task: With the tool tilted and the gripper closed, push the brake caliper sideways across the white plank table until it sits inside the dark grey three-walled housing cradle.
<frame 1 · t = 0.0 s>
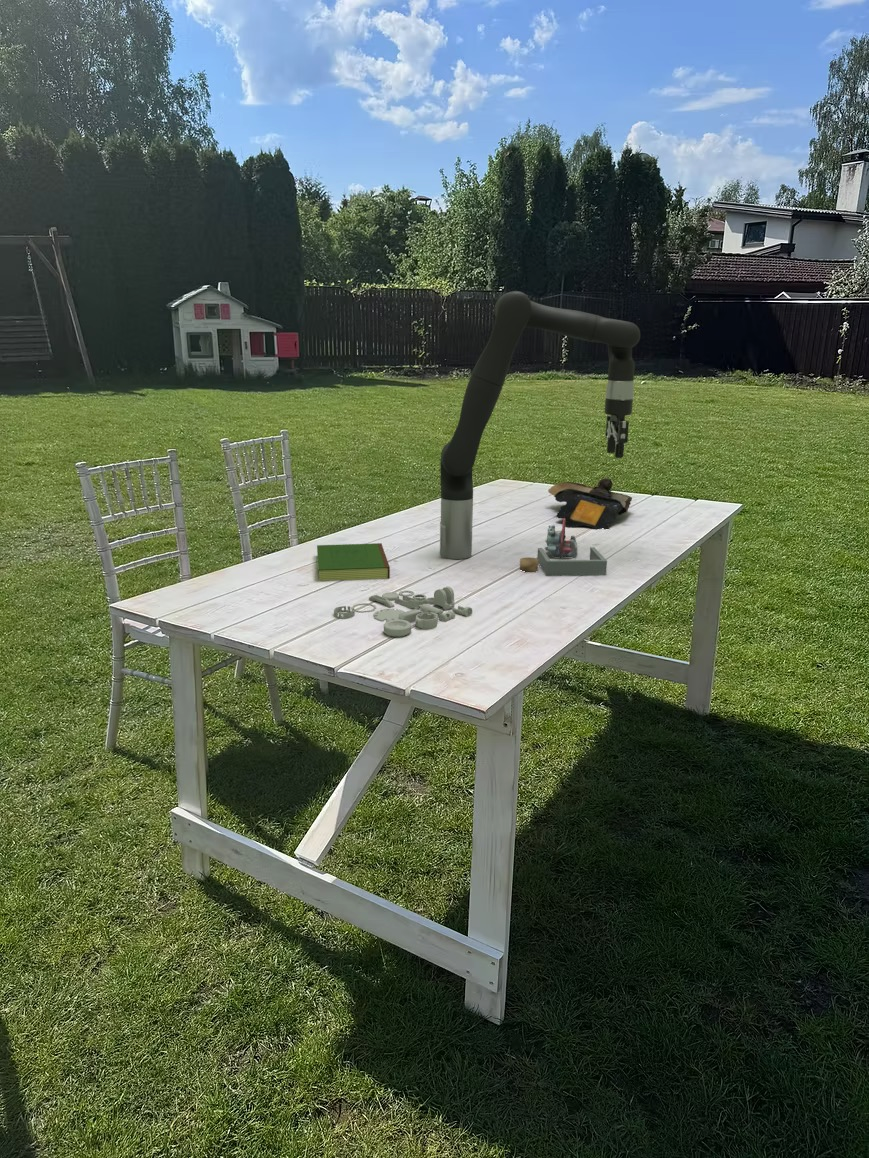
hand: (614, 455, 223), 29 cm above the table, tool pointing down, fingers open, 8 cm apart
tan rounded lump: (528, 570, 216), on the table
hardcover book: (351, 568, 219), on the table
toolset: (584, 517, 280), on the table
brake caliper: (560, 555, 231), on the table
housing cradle: (570, 567, 219), on the table
robot parts: (399, 616, 183), on the table
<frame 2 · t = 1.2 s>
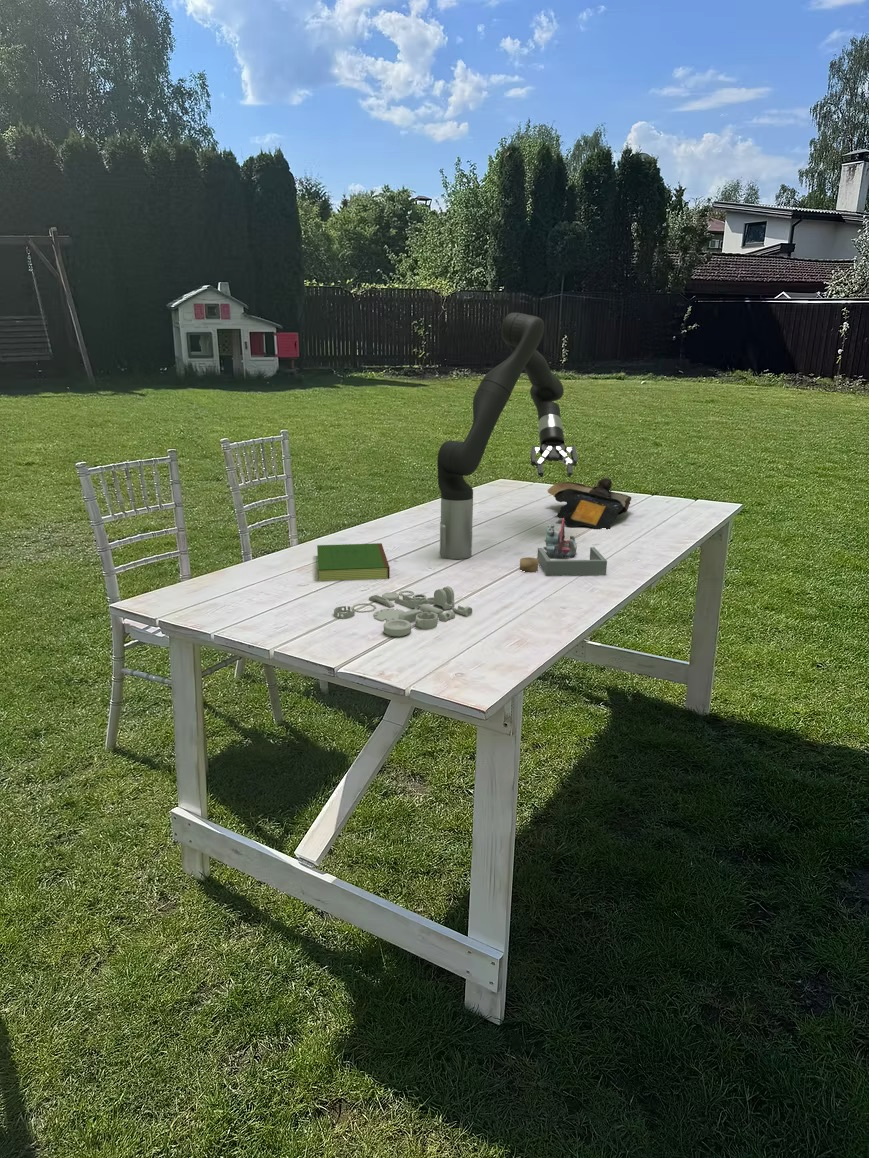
hand: (555, 475, 238), 21 cm above the table, tool tilted 45°, fingers open, 8 cm apart
nothing on the table moved.
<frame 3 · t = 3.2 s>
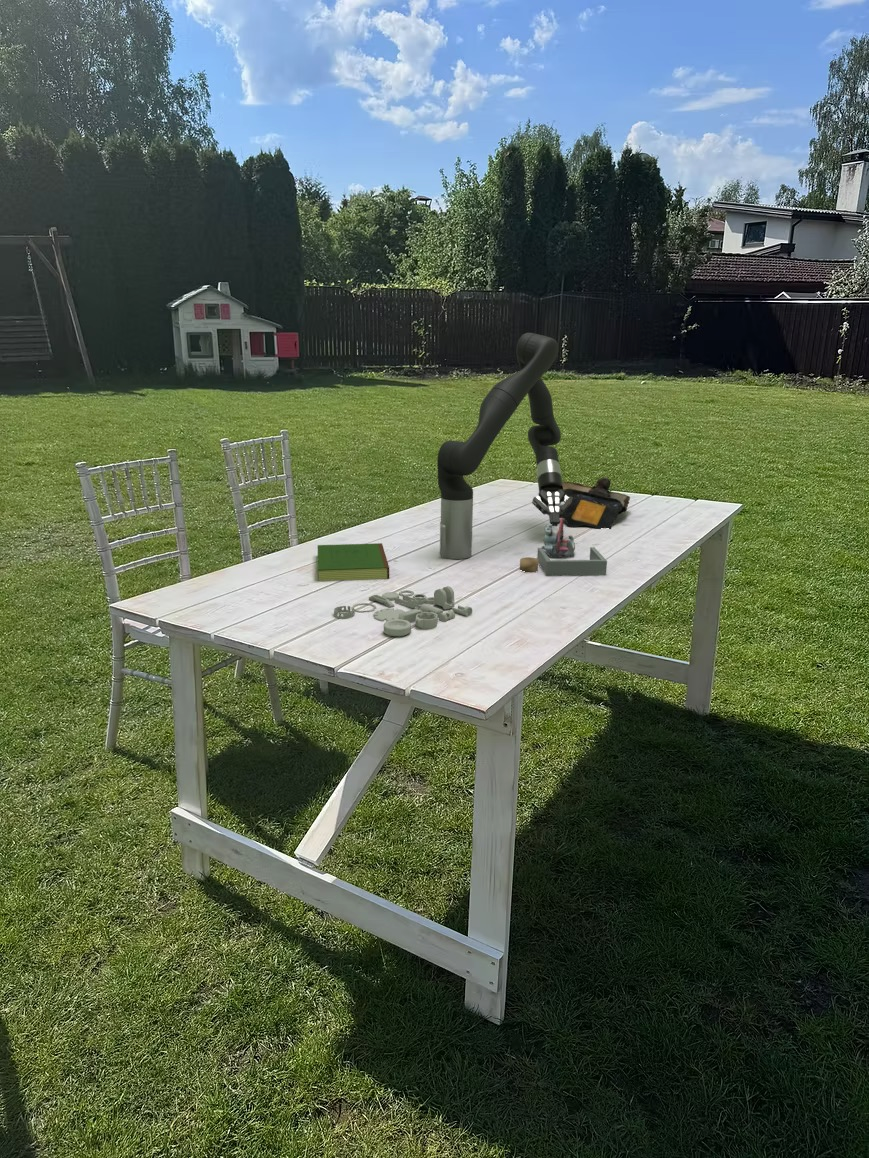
hand: (555, 524, 239), 6 cm above the table, tool tilted 45°, fingers closed
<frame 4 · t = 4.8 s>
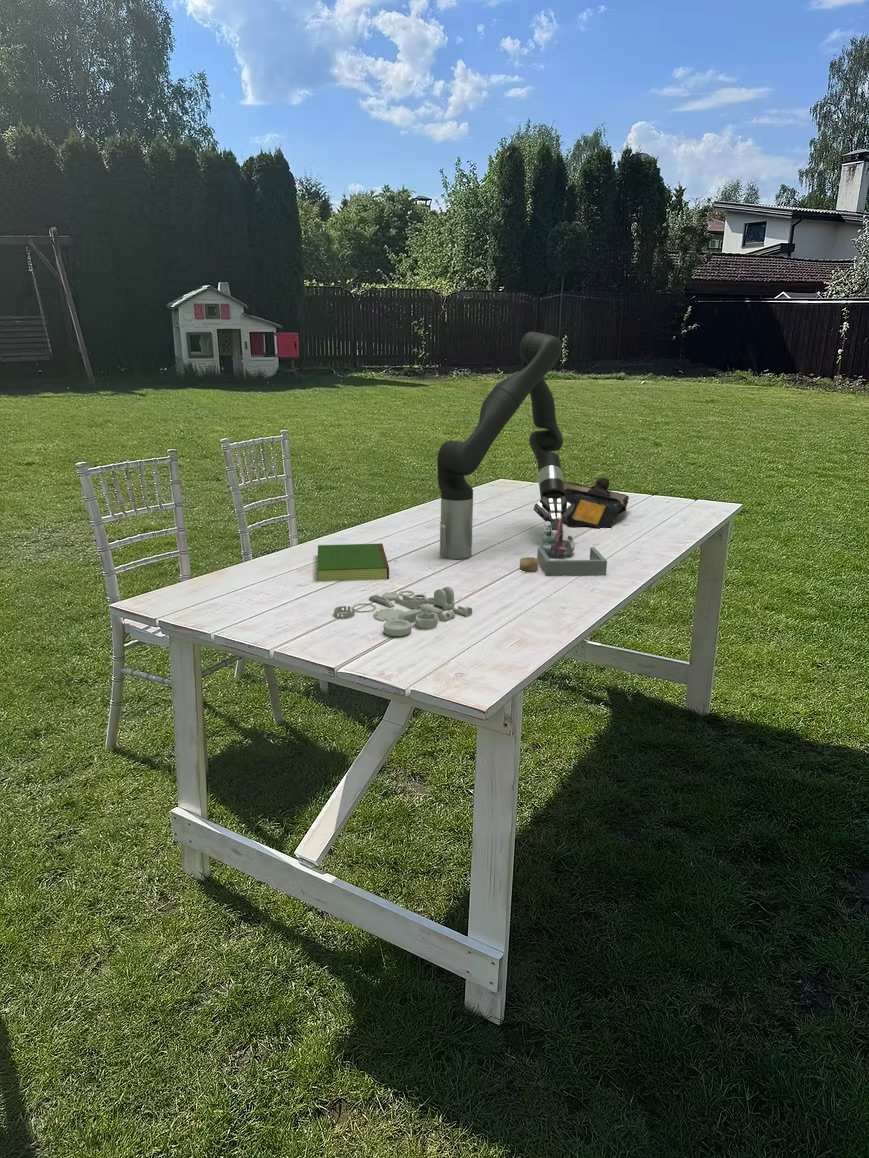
hand: (557, 531, 235), 5 cm above the table, tool tilted 45°, fingers closed
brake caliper: (556, 554, 232), on the table, touching gripper
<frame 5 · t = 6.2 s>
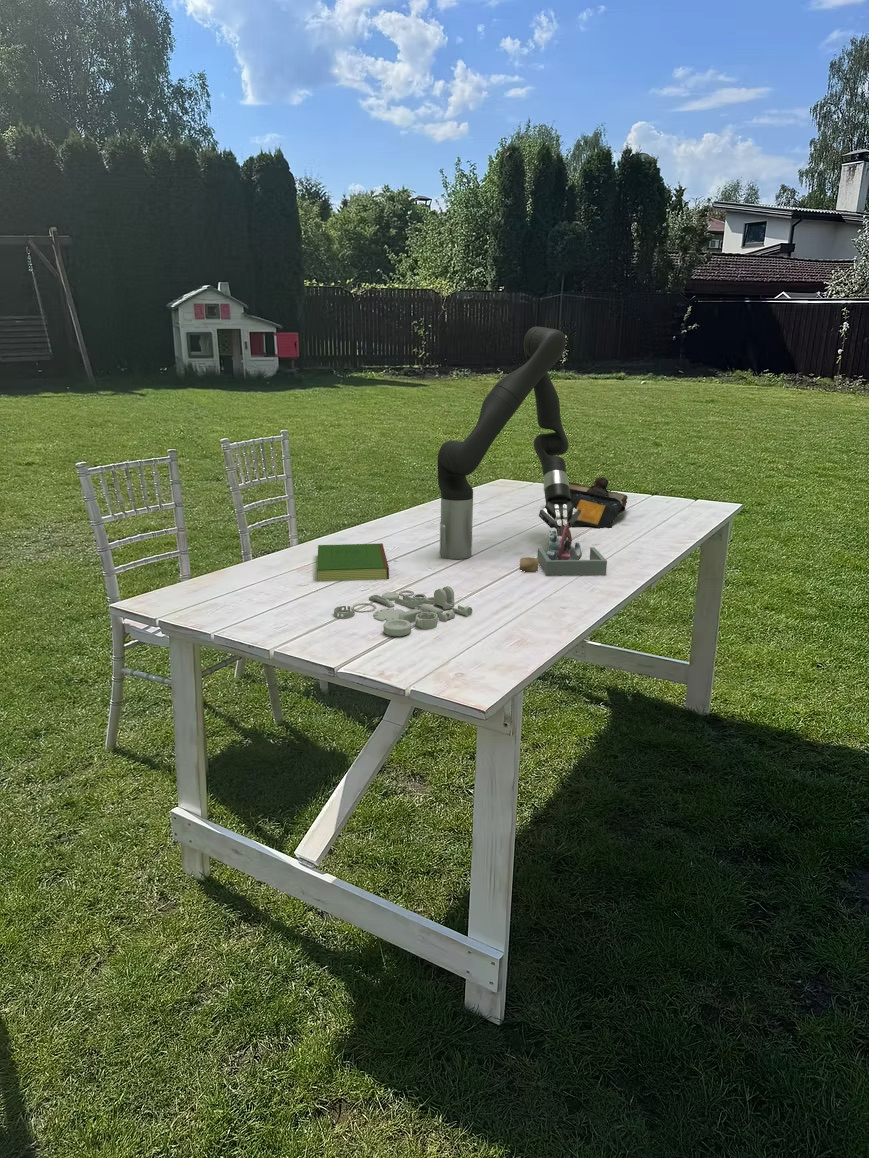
hand: (563, 539, 228), 5 cm above the table, tool tilted 45°, fingers closed
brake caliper: (562, 561, 225), on the table, touching gripper
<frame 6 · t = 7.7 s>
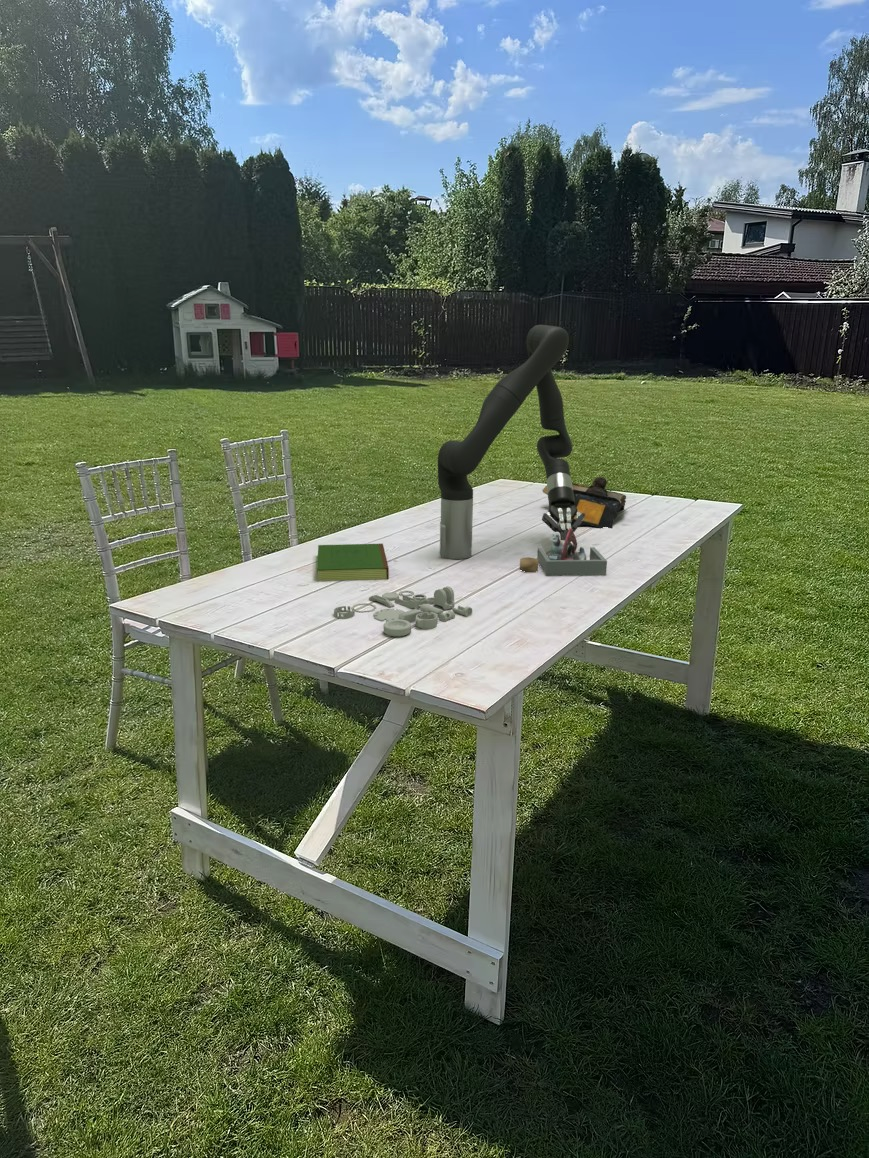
hand: (566, 543, 223), 5 cm above the table, tool tilted 45°, fingers closed
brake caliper: (566, 566, 220), on the table, touching gripper
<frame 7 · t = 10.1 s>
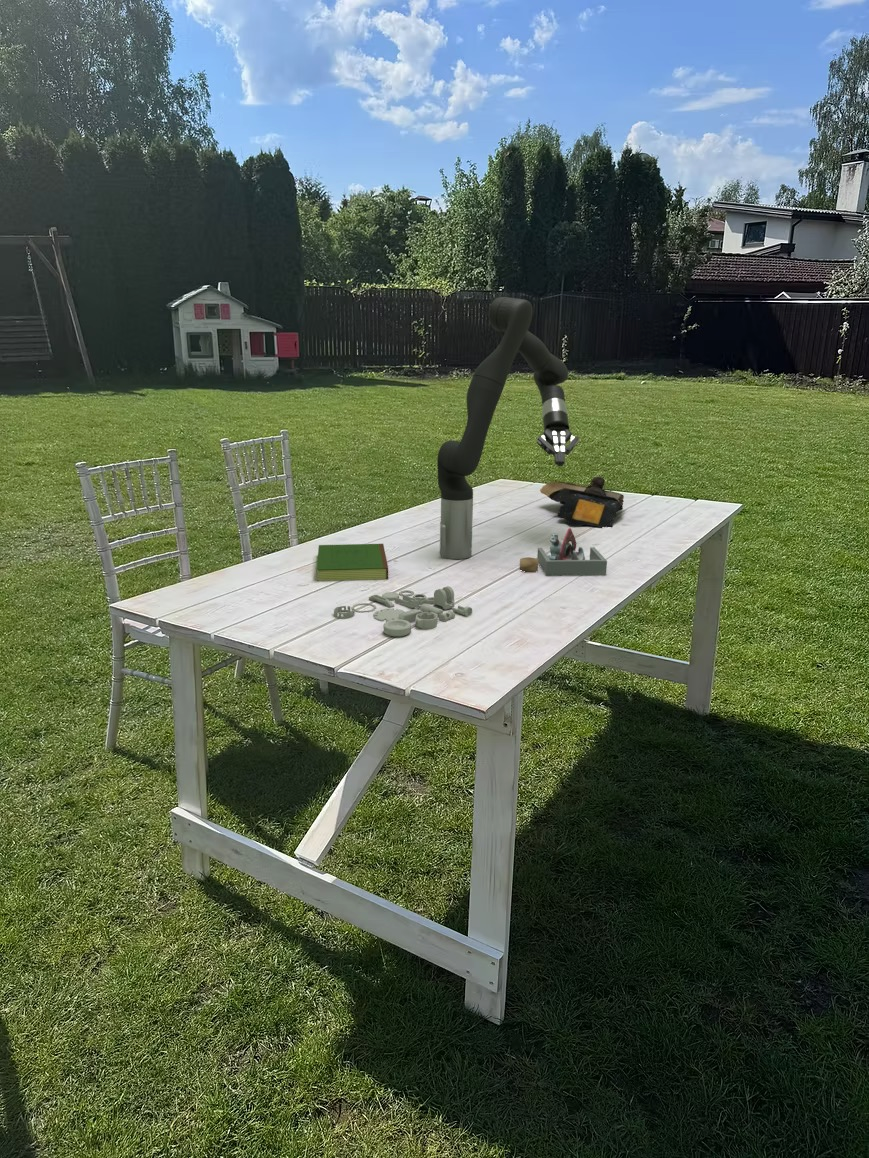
hand: (560, 464, 229), 26 cm above the table, tool tilted 45°, fingers closed
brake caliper: (565, 566, 221), on the table
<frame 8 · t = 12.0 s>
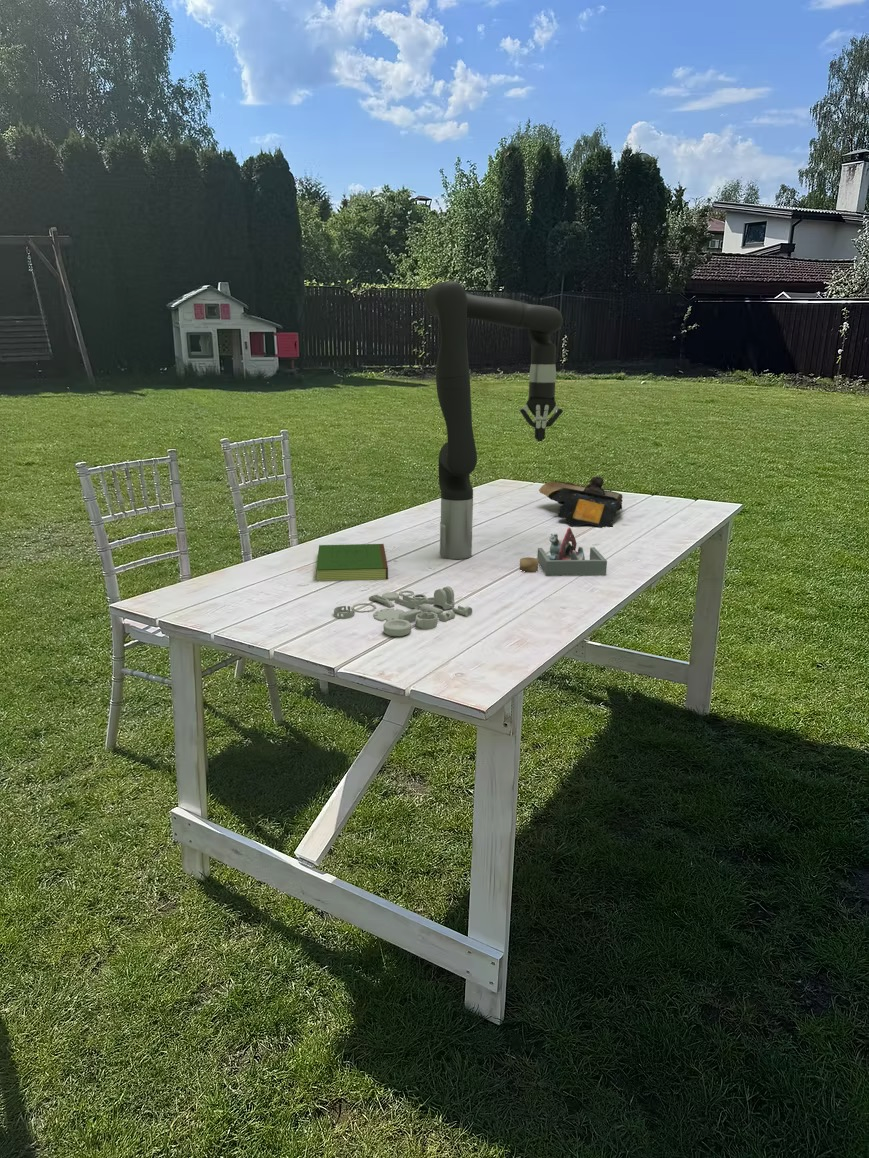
hand: (539, 440, 231), 32 cm above the table, tool pointing down, fingers closed
at the end: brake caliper inside the target area (2.8 cm from its centre), on the table; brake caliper moved 10.8 cm from its start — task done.
